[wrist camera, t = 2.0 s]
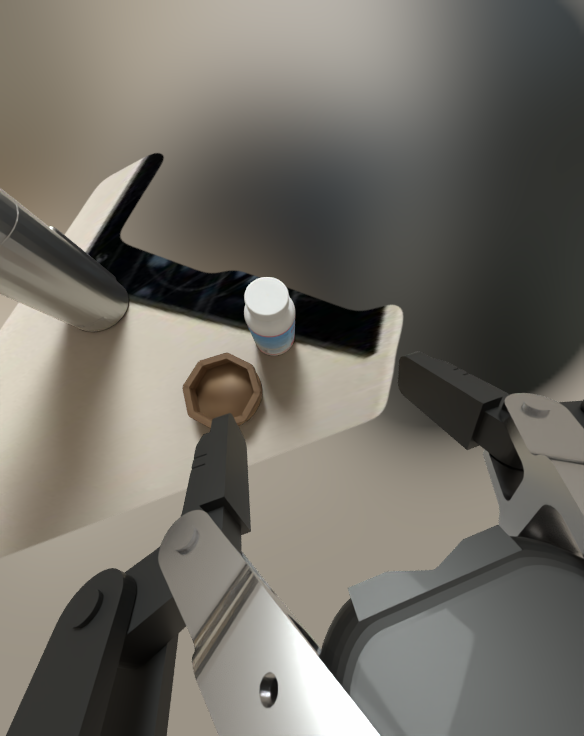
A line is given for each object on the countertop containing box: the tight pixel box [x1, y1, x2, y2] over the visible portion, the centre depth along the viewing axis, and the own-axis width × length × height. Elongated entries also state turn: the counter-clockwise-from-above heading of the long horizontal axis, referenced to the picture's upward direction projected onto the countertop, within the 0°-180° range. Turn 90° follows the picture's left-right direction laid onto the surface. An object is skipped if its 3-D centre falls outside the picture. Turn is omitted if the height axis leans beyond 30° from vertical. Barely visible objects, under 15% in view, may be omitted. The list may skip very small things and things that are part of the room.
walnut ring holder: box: [182, 353, 262, 428], centre depth 29 cm, size 10×10×3 cm
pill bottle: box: [244, 277, 295, 356], centre depth 27 cm, size 6×6×11 cm
